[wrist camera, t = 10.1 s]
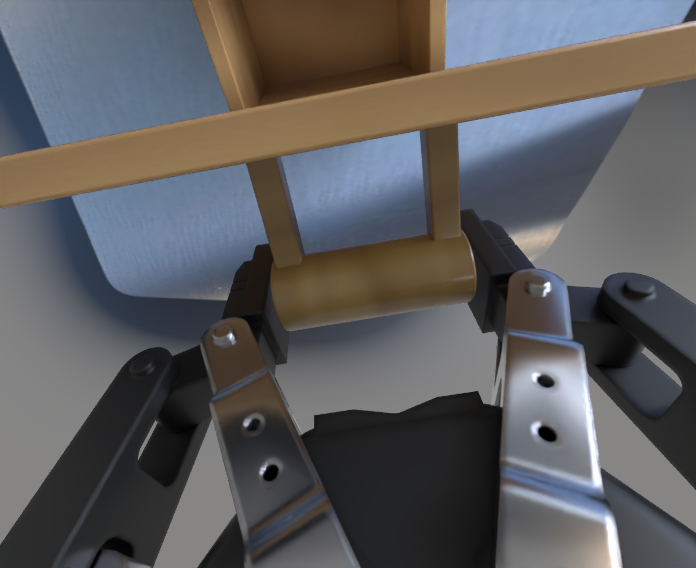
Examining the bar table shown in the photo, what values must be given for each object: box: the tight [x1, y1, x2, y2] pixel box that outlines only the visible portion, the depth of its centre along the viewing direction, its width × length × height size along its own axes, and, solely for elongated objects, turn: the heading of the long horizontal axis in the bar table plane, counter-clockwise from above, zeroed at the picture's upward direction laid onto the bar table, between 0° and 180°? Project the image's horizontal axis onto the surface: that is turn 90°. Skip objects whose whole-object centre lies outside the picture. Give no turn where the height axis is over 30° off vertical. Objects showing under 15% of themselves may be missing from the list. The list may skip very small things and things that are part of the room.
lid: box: [0, 21, 696, 331], centre depth 14 cm, size 17×13×5 cm
